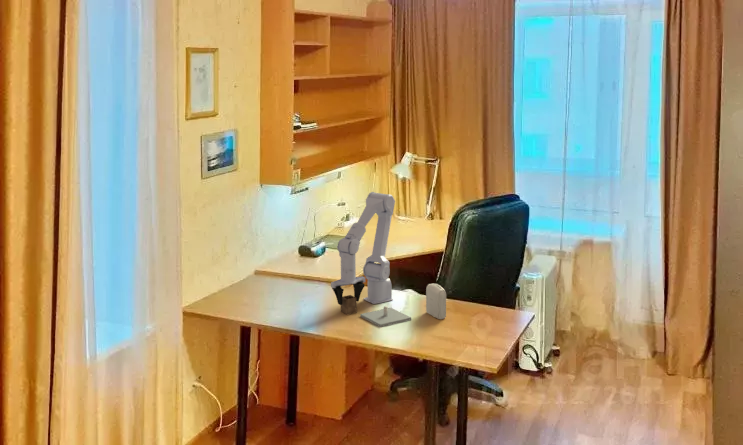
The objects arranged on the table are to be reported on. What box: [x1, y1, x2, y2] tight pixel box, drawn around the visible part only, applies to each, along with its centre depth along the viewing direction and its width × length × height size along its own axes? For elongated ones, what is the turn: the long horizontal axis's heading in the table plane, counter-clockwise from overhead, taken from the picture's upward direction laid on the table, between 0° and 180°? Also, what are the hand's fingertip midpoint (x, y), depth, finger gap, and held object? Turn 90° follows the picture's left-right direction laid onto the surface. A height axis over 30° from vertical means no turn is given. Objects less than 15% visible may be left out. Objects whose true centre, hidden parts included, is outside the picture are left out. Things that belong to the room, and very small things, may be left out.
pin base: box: [359, 305, 412, 328], centre depth 321 cm, size 14×14×5 cm
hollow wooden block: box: [340, 294, 358, 316], centre depth 329 cm, size 4×4×6 cm
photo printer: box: [425, 283, 447, 320], centre depth 324 cm, size 10×4×12 cm, turn 26°
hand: (348, 302), depth 328 cm, fingers open, 7 cm apart
